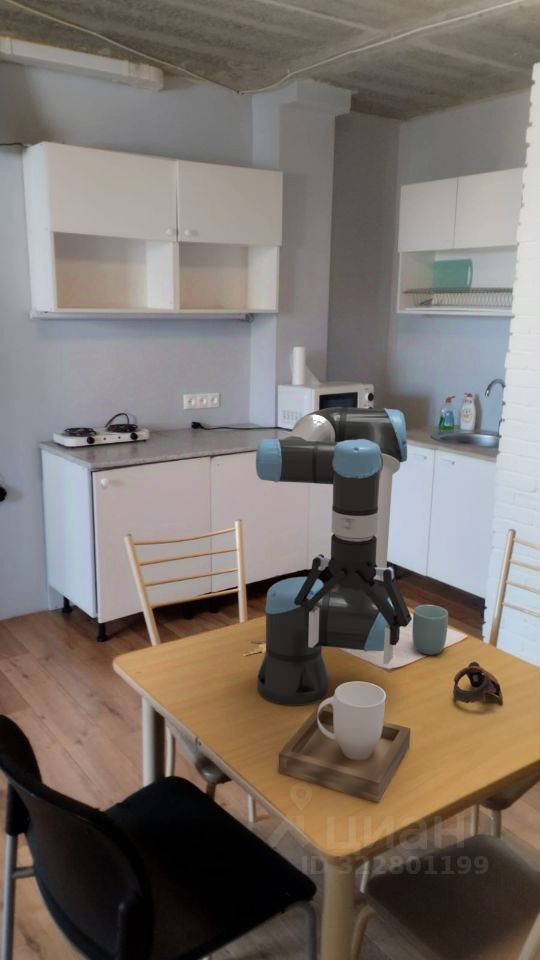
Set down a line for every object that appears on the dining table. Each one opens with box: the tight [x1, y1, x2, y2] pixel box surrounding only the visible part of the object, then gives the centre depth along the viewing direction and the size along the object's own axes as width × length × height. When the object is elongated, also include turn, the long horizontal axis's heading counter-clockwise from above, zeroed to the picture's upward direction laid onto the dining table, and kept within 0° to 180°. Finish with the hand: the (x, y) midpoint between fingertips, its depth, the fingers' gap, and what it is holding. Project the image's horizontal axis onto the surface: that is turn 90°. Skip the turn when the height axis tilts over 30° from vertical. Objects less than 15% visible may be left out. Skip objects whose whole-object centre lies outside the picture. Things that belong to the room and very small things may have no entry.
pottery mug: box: [452, 661, 504, 706], centre depth 156 cm, size 12×10×8 cm
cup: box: [411, 604, 449, 656], centre depth 176 cm, size 8×8×10 cm
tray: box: [277, 704, 411, 804], centre depth 135 cm, size 18×18×4 cm
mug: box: [317, 680, 387, 761], centre depth 133 cm, size 12×9×12 cm
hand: (349, 652), depth 131 cm, fingers open, 13 cm apart
